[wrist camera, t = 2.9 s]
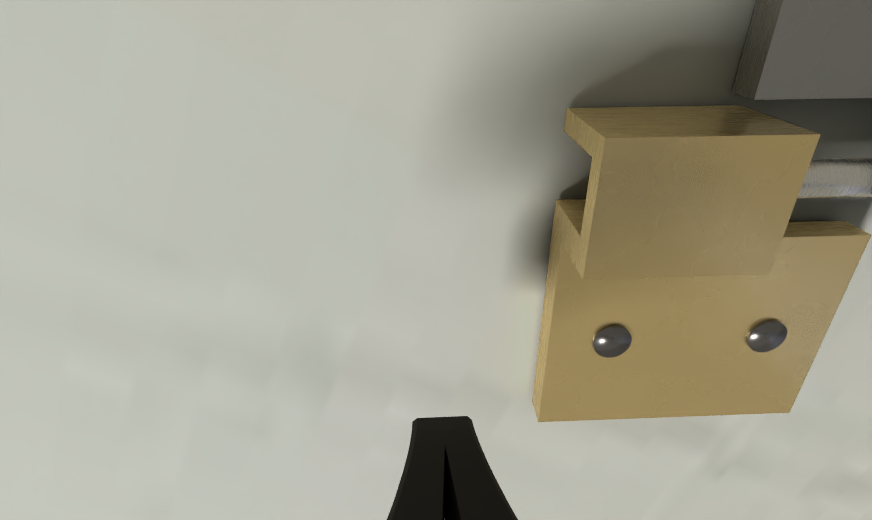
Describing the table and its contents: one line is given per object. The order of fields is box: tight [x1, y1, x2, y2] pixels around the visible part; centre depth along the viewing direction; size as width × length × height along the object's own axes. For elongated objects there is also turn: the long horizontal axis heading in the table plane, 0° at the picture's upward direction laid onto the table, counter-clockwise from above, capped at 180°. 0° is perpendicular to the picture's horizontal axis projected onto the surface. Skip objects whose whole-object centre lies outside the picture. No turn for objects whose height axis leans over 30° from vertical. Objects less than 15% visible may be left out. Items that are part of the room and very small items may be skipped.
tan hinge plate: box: [532, 105, 871, 422], centre depth 15 cm, size 10×9×3 cm
